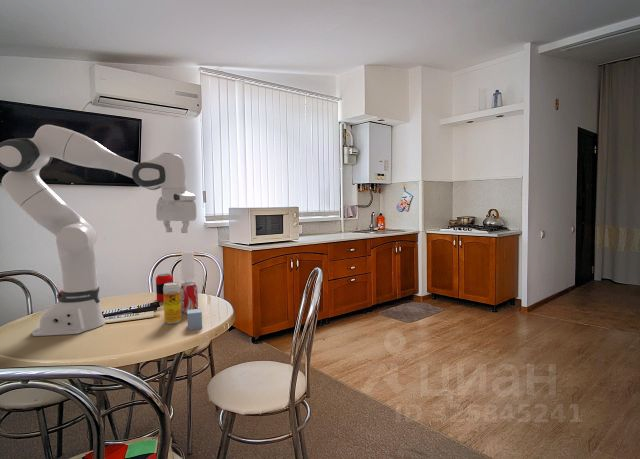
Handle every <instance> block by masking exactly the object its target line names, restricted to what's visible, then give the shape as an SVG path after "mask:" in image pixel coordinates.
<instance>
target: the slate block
mask: <svg viewBox="0 0 640 459" xmlns="http://www.w3.org/2000/svg"><path fill="white" fill-rule="evenodd" d="M186 314H187V315H186V316H187V318H186V319H187V330H190V331H191V330H197V329H203V314H202V308H198V309H192V310H187V313H186Z"/></svg>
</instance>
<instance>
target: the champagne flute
mask: <svg viewBox="0 0 640 459" xmlns="http://www.w3.org/2000/svg"><path fill="white" fill-rule="evenodd" d="M180 264H181V265H180V279H181V280H182V281H183V283H187V282H194V281H195V279H196V278H197V269H196V262H195V256H194V251H192V250H190V251H181V263H180Z"/></svg>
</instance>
